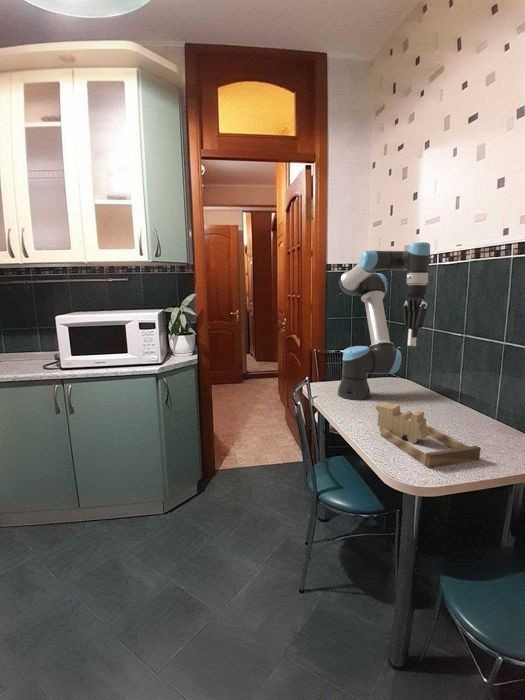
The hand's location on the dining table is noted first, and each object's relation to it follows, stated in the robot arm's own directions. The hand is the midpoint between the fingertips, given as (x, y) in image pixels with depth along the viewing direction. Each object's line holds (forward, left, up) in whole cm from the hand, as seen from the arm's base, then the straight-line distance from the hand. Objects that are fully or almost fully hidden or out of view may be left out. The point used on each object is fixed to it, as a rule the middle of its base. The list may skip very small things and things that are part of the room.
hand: (411, 345), depth 138 cm
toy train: (+18, -17, -29) cm, 38 cm away
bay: (+27, -14, -28) cm, 42 cm away
